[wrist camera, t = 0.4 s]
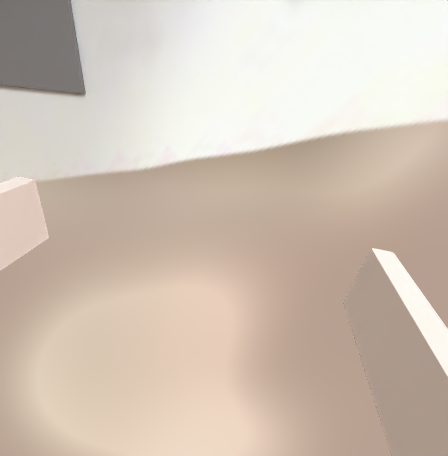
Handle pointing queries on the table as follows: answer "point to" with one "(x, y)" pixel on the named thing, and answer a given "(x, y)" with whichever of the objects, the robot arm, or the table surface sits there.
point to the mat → (39, 46)
